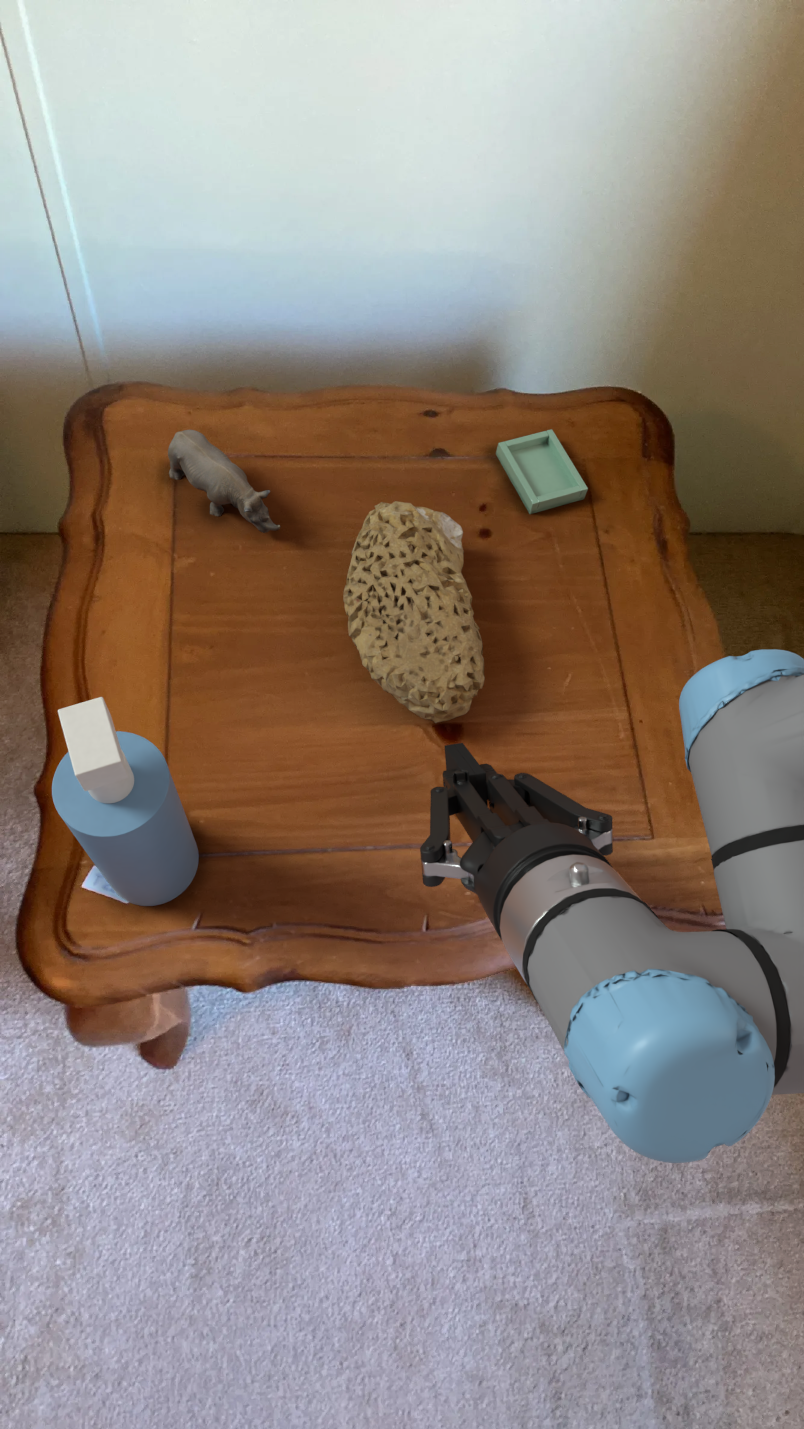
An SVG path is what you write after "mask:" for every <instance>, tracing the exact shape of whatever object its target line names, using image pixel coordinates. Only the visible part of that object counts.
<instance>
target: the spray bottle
mask: <svg viewBox="0 0 804 1429" xmlns="http://www.w3.org/2000/svg"><path fill="white" fill-rule="evenodd" d="M57 715H58V718H59V721H60V725H61V729H62V733H63V737H64V740H65V743H66V747H67V752H66V754H64V756H63V757H62V758H61V760H60V762H59V764H58V765H57V766H56V769H55V772H54V774H53V778H52V783H51V797H52V801H53V804H54V807H55V809H56V811H57V813H58V815H59V817H60V818H61V819H62V820H63V822H64V823H65V825H66V826H67V828H68V829H69V831H70V832H71V833H72V835H73V836H74V837H75V839H76V840H77V841H78V843H79V844H80V846H81V848H82V849H83V850H84V851H85V853H86V854H87V856H88V857H89V858H90V860H91V861H92V862H93V864H94V865H95V867H96V868H97V870H98V871H99V872H100V874H101V875H102V877H103V878H104V880H105V881H106V882H107V884H108V885H109V887H110V888H111V889H112V890H113V892H114V893H115V894H116V895H117V896H118V897H120V898H121V899H122V900H124V901H125V902H128V903H129V904H132V905H137V906H141V907H153V906H159V905H163V904H166V903H168V902H171V901H173V900H174V899H175V898H177V897H179V896H181V895H182V894H183V893H184V892H185V891H186V890H187V889H188V888H189V886H190V885H191V883H192V882H193V880H194V878H195V876H196V875H197V874H196V873H197V871H198V867H199V860H200V859H199V858H200V856H199V849H198V845H197V842H196V840H195V836H194V834H193V830H192V828H191V826H190V823H189V820H188V817H187V815H186V812H185V809H184V807H183V804H182V801H181V798H180V796H179V793H178V790H177V787H176V784H175V781H174V779H173V776H172V774H171V771H170V768H169V765H168V763H167V761H166V757H164V755H163V753H162V751H161V750H160V749H159V748H158V747H157V746H156V745H155V744H154V743H153V742H151V741H150V740H149V739H148V738H146V737H143V736H142V735H139V734H136V733H133V732H128V731H120V730H117V731H116V728H115V724H114V721H113V717H112V714H111V712H110V710H109V708H108V705H107V703H106V701H105V699H104V697H103V696H99V697H95V698H93V699H89V700H86V701H83V702H79V703H76V704H73V705H69V706H66V707H61V708H59V709H57Z"/></svg>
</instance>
